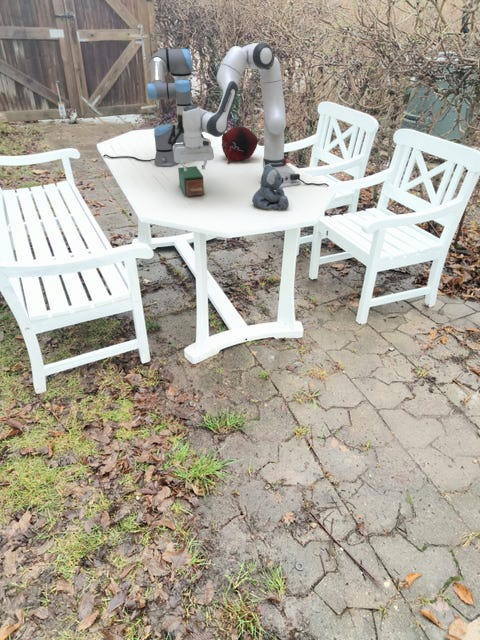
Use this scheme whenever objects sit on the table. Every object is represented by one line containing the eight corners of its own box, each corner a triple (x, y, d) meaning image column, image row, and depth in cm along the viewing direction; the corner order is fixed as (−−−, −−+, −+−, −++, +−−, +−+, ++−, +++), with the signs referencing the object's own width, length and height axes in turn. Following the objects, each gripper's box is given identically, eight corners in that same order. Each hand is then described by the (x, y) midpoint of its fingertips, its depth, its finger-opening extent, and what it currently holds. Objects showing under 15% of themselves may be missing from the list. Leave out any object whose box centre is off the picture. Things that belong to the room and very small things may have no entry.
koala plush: (289, 210, 223) (292, 171, 212) (253, 212, 222) (254, 172, 211) (284, 198, 237) (286, 161, 226) (250, 200, 236) (250, 162, 225)
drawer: (205, 197, 237) (205, 182, 232) (188, 199, 235) (187, 184, 231) (197, 184, 256) (196, 170, 251) (181, 185, 254) (180, 171, 249)
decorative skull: (218, 132, 305) (218, 129, 282) (252, 124, 304) (255, 121, 281) (225, 164, 312) (225, 164, 288) (258, 157, 311) (261, 156, 288)
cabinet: (204, 194, 244) (203, 176, 238) (185, 196, 242) (183, 177, 236) (197, 183, 260) (196, 166, 254) (179, 185, 257) (178, 167, 252)
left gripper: (161, 116, 228) (165, 159, 240) (209, 114, 233) (211, 156, 245) (159, 114, 234) (163, 156, 246) (206, 111, 239) (208, 152, 251)
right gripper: (173, 144, 217) (175, 173, 225) (214, 141, 222) (215, 170, 230) (171, 141, 223) (173, 169, 230) (211, 138, 227) (212, 166, 235)
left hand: (187, 156), depth 246 cm, fingers open, 13 cm apart
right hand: (194, 170), depth 230 cm, fingers open, 8 cm apart
